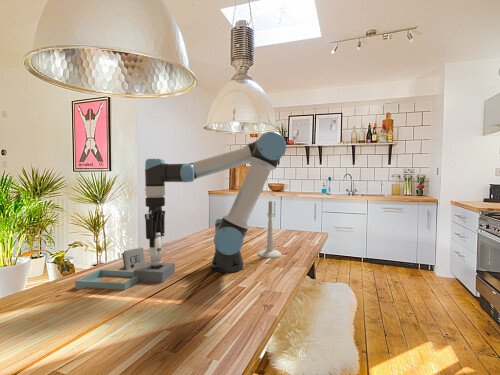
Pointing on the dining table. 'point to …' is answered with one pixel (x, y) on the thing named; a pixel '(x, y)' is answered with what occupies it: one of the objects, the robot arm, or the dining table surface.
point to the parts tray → (93, 282)
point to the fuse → (157, 258)
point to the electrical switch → (133, 258)
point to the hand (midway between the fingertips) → (155, 253)
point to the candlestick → (269, 239)
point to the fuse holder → (155, 272)
